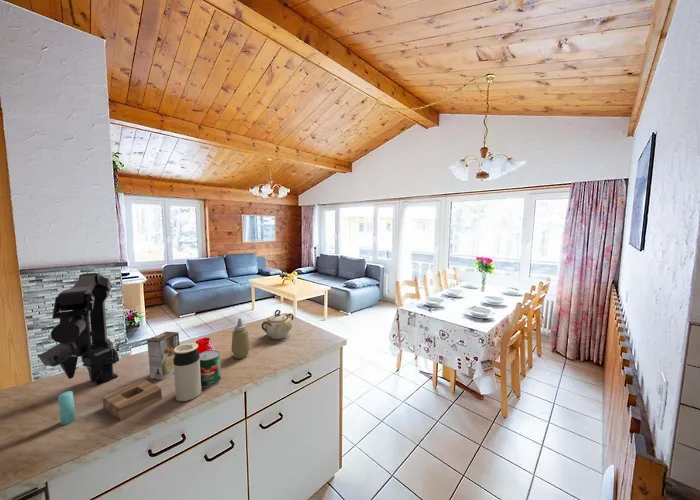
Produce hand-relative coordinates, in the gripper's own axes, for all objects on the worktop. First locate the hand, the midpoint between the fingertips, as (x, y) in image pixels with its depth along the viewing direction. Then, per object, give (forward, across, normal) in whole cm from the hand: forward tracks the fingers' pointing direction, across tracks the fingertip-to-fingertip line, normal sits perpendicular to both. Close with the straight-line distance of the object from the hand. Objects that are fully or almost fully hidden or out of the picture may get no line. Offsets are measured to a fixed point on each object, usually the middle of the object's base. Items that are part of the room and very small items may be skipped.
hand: (82, 379), depth 86 cm
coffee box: (+13, +2, +28) cm, 31 cm away
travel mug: (+13, +22, +18) cm, 31 cm away
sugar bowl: (+13, +30, +72) cm, 79 cm away
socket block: (+13, +7, +10) cm, 18 cm away
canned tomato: (+13, +23, +27) cm, 38 cm away
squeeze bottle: (+13, +23, +48) cm, 54 cm away
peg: (+13, -4, -2) cm, 14 cm away
